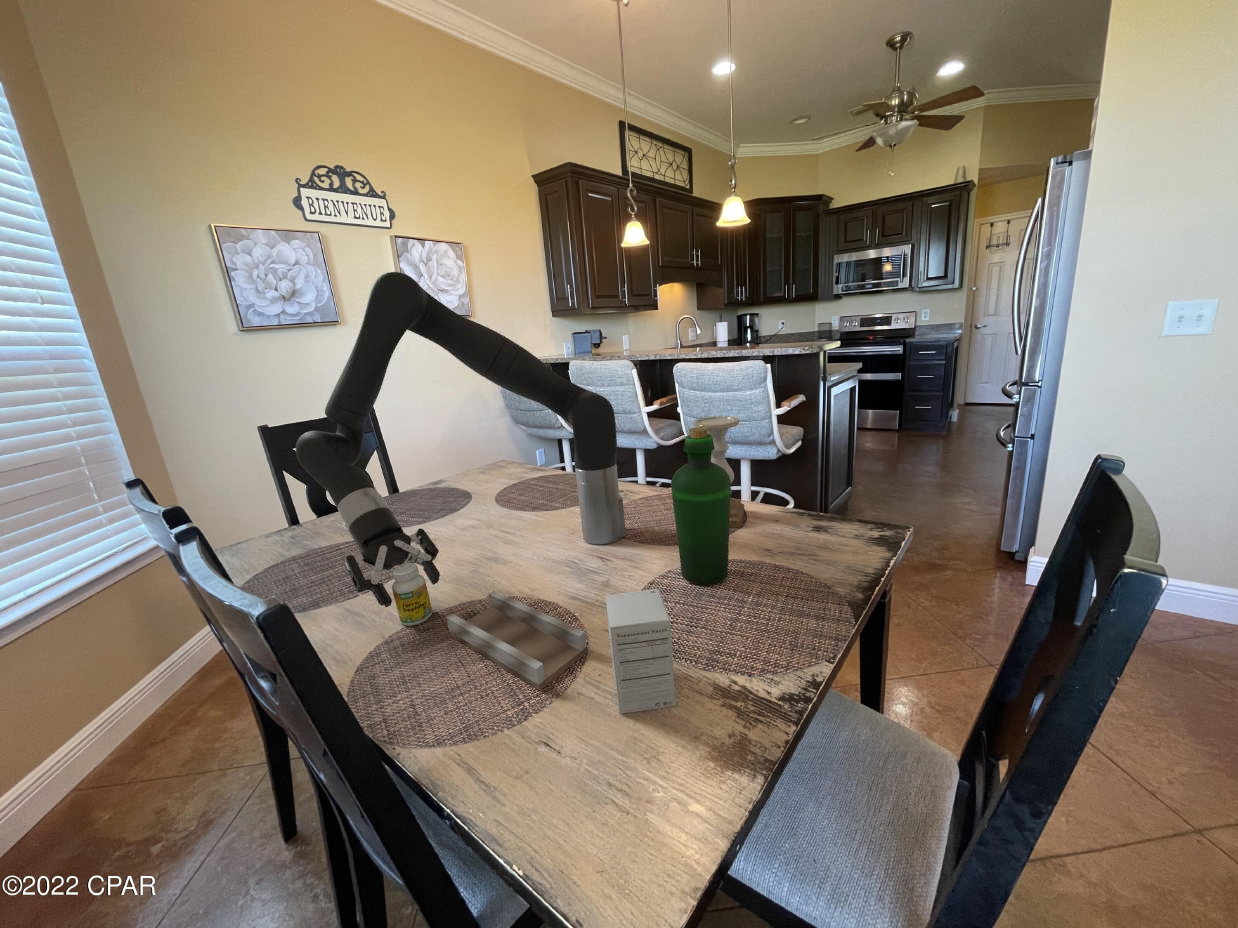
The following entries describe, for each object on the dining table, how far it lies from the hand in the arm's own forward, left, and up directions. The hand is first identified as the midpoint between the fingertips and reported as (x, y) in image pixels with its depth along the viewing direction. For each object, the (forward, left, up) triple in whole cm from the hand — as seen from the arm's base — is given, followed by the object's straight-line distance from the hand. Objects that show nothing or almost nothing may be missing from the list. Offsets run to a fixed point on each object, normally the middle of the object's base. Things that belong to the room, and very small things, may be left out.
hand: (413, 592), depth 82 cm
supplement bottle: (+1, -1, -6) cm, 6 cm away
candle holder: (-67, -11, -6) cm, 69 cm away
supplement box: (-28, +33, -6) cm, 44 cm away
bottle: (-50, +11, -5) cm, 52 cm away
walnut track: (-14, +15, -5) cm, 21 cm away
